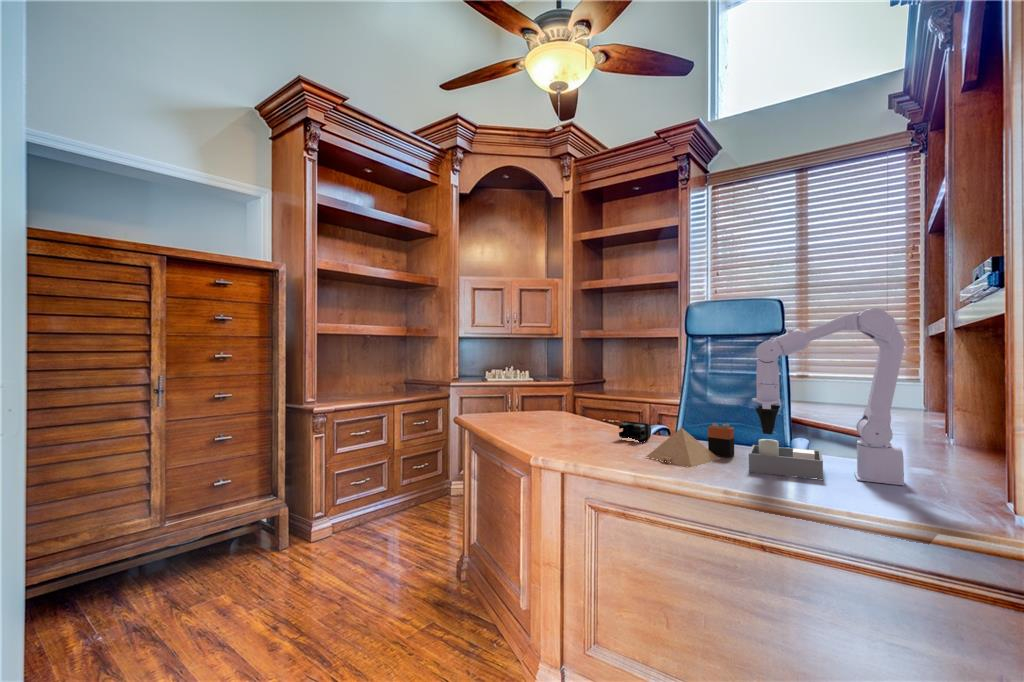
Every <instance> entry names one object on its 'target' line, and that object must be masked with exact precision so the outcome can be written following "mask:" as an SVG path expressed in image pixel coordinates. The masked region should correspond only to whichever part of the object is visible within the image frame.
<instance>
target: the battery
mask: <svg viewBox="0 0 1024 682" xmlns="http://www.w3.org/2000/svg"><path fill="white" fill-rule="evenodd" d="M707 446H708V448H707V449H708V450H709V451H711V452H712V453H713V454H714V455H716V456H717V457H722V458H729V459H730V457H733V456H735V427H733V426H730V424H729V423H722V424H721V425H720V424H719V423H715V422H714V423H712V425H709V426H707Z"/></svg>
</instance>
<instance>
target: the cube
mask: <svg viewBox="0 0 1024 682" xmlns="http://www.w3.org/2000/svg"><path fill="white" fill-rule="evenodd" d="M793 458H802V459H813V460H815V454H814V449H802V448H793Z"/></svg>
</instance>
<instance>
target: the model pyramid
mask: <svg viewBox="0 0 1024 682" xmlns="http://www.w3.org/2000/svg"><path fill="white" fill-rule="evenodd" d="M645 457H649V458H654V459H658V460H661V461H663V462H665V461H666V462H667V463H670V462H671V463H675V464H679V465H678V466H680V465H684V466H683V467H685V466H688V467H687V468H690V467H693V468H695V467H694V466H696V467H699V466H698V465H700V466H702V465H701V464H703V465H705V463H706V464H709V463H712V462H711V461H713V462H715V460H716V461H719V460H720V458H719V456H716V455H714V454H713V453H712V452H711V451H709V450H708V448H707V447H706V446H705V445H703V444H702V443H701V442H700V441H698V440H697V439H696V438H695V437H694V436H692V435H691V434H690V433H689V432H688V431H686V430H685V429H684V428H683V427H680V428H679V429H678V430H677V431H675V432H674V433H673V434H672V435H671V436H669V437H668V438H667V439H666V440H665V441H664V442H662V443H661V444H660V445H659V446H657V447H656V448H654V450H653V451H651V452H650V453H648V454H647V455H646V456H645ZM661 461H660V462H661ZM663 462H662V463H663ZM666 462H665V463H666ZM708 462H709V463H708ZM667 463H666V464H667ZM671 463H670V464H671ZM675 464H674V465H675Z"/></svg>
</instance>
